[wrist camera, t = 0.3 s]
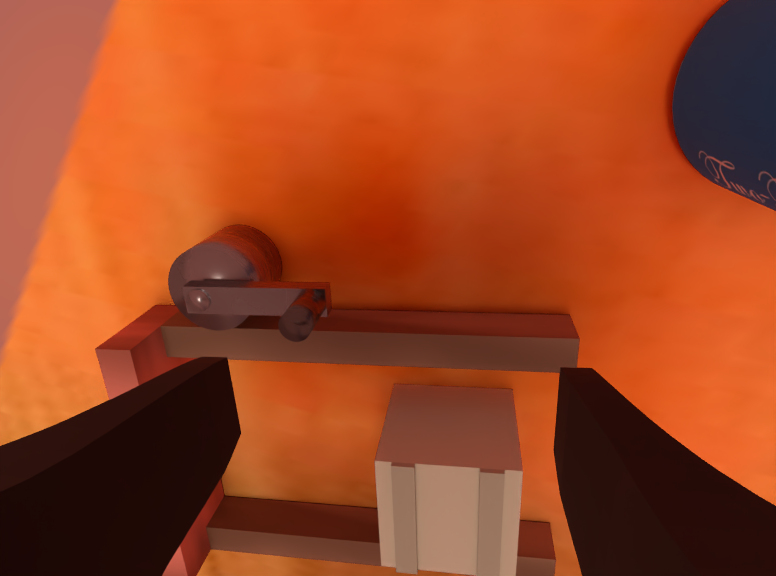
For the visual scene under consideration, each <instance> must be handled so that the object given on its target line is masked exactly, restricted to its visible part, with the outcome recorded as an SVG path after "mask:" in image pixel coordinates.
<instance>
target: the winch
mask: <svg viewBox="0 0 776 576" xmlns="http://www.w3.org/2000/svg"><path fill="white" fill-rule="evenodd" d="M281 272H282V263H281V258H280V255H279V252H278V250H277V248H276V247H275V245H274V244H273V242H272V241H271V240H270V239H269V238H268V237H267V236H266V235H265V234H264V233H262V232H261V231H259V230H257V229H255V228H252V227H249V226H245V225H232V226H228V227H225V228H223V229H222V230H220V231H218V232H217V233H215V234H213V235H212V236H210V237H208V238H207V239H205V240H204V241H202V242H200V243H199V244H197V245H195V246H194V247H192V248H191V249H189V250H187V251H186V252H184V253H182V254H181V255H180V256H179V257H178V258H177V259H176V260H175V261H174V263H173V264H172V266H171V269H170V272H169V278H168V284H169V290H170V294H171V297H172V299H173V301H174V303H175V305H176V306H177V308H178V309H179V311H180V312H181V313H182V314H183V315H184V316H185V317H186V318H187V319H189V320H190V321H191V322H193V323H195V324H196V325H198V326H200V327H203V328H206V329H210V330H217V331H220V330H228V329H232V328H234V327H236V326H238V325H240V324H241V323H242V322H243V321H244V320H245V319H246V318H247V317H248V316H249V315H269V316H281V318H280V319H279V323H278V327H279V330H280V332H281V334H282V335H283V336H284V337H285V338H286V339H288V340H290V341H293V342H301V341H303V340H305V339H306V338H308V336H309V335H310V333H311V331H312V330H313V328H314V327H315V325H316V324H317V322H318V320H319V319H320V317H328V315H329V314H330V312H331V310H332V305H331V293H330V282H279V280H280V277H281Z"/></svg>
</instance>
